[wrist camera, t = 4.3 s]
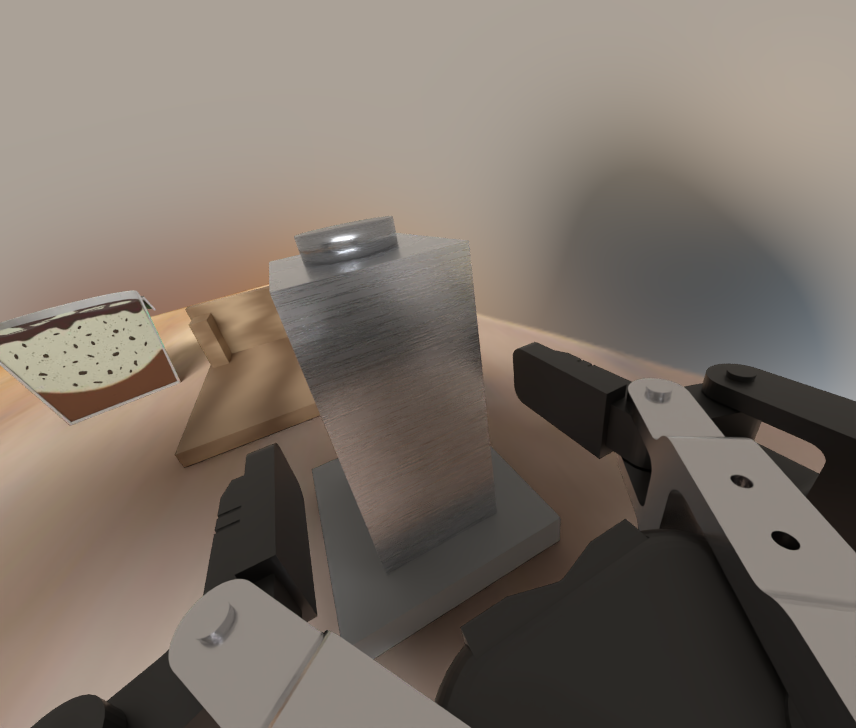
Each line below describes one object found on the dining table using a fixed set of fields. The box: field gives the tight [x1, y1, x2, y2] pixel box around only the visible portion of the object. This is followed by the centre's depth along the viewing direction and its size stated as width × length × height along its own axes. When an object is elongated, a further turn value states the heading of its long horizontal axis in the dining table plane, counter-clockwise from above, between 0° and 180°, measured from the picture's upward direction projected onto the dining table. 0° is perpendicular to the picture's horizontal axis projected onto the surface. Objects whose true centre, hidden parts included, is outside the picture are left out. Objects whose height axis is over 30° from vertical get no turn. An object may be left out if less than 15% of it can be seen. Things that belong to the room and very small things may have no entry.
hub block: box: [269, 216, 497, 575], centre depth 13 cm, size 5×6×12 cm
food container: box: [0, 291, 181, 425], centre depth 33 cm, size 12×6×10 cm, turn 129°
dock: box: [175, 286, 320, 468], centre depth 31 cm, size 15×19×7 cm
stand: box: [312, 446, 561, 659], centre depth 16 cm, size 9×9×2 cm
